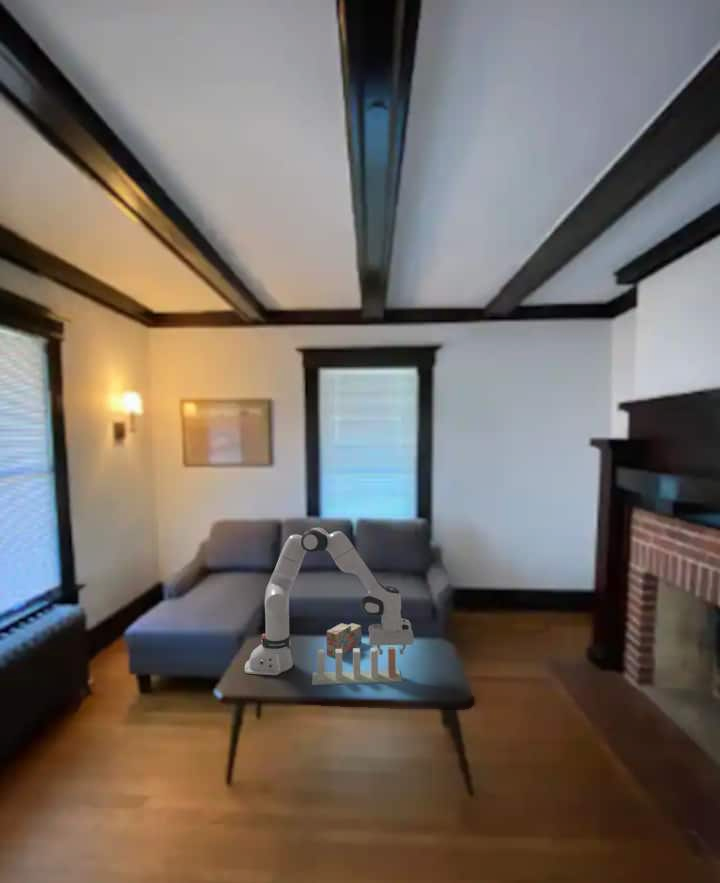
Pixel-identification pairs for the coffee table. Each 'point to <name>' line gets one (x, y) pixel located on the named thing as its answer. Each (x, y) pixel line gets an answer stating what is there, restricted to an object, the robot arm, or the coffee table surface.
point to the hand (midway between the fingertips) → (391, 653)
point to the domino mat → (348, 679)
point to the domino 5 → (391, 662)
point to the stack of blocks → (343, 638)
